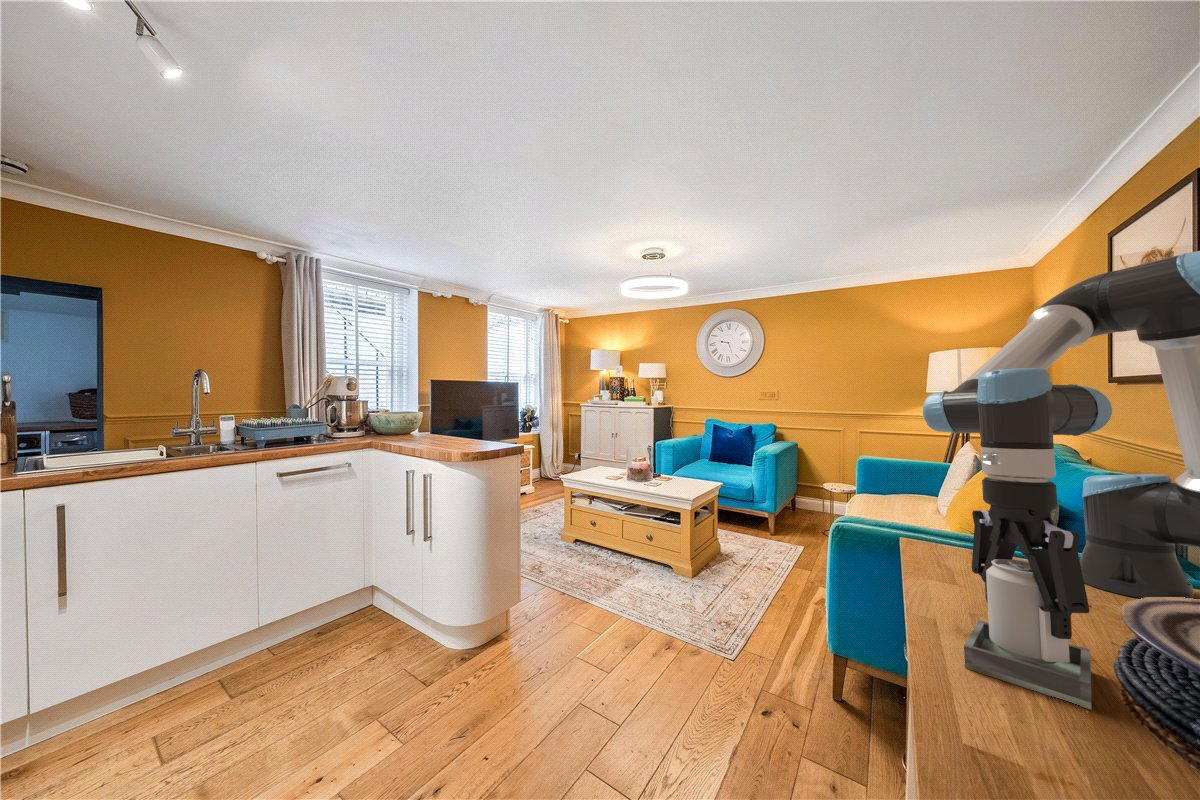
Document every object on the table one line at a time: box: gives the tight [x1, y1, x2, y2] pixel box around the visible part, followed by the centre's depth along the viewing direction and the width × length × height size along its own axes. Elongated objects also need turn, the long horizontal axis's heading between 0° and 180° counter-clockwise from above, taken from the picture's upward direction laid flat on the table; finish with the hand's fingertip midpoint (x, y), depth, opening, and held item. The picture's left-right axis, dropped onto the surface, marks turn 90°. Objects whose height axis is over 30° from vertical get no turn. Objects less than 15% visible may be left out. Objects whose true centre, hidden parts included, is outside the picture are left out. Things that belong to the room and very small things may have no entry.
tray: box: [963, 619, 1092, 711], centre depth 59 cm, size 12×12×3 cm
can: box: [986, 558, 1058, 664], centre depth 60 cm, size 8×8×12 cm
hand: (1026, 643), depth 59 cm, fingers closed on can, 7 cm apart
